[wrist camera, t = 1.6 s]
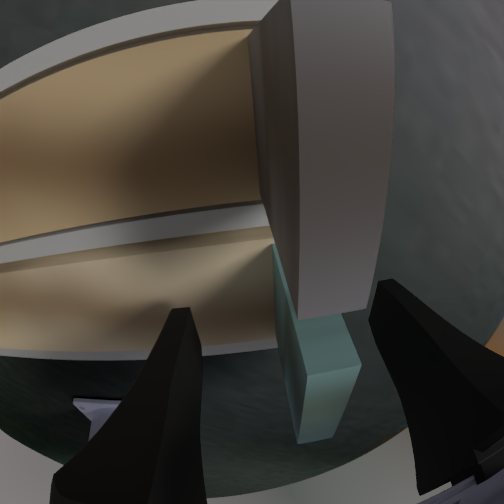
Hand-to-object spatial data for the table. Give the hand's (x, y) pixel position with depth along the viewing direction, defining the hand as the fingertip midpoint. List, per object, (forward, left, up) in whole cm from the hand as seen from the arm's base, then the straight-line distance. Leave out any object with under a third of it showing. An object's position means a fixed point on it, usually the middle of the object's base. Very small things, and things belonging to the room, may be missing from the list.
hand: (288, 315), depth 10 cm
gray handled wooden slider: (+6, +10, -2) cm, 12 cm away
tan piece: (0, +10, -2) cm, 10 cm away
